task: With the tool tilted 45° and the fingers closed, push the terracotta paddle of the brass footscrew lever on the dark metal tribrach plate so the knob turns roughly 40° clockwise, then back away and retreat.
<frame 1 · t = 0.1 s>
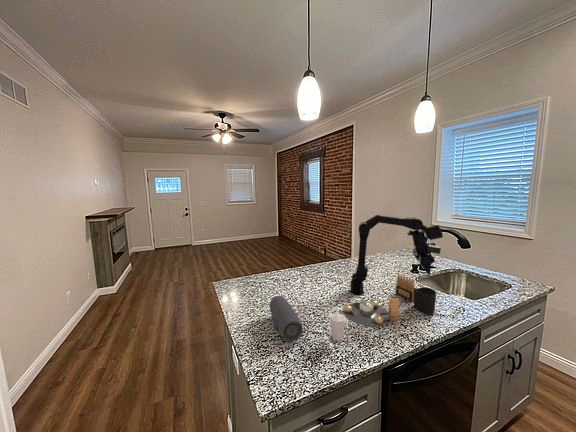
hand: (426, 270, 127), 15 cm above the worktop, tool pointing down, fingers open, 9 cm apart
pen holder: (423, 310, 118), on the worktop
footscrew lever: (386, 310, 106), point 6 cm above the worktop, hinge at 0.0°
ammunition clip: (404, 297, 132), on the worktop
bluetooth speaker: (284, 328, 105), on the worktop
tribrach plate: (366, 315, 114), on the worktop
smoothie: (337, 340, 96), on the worktop
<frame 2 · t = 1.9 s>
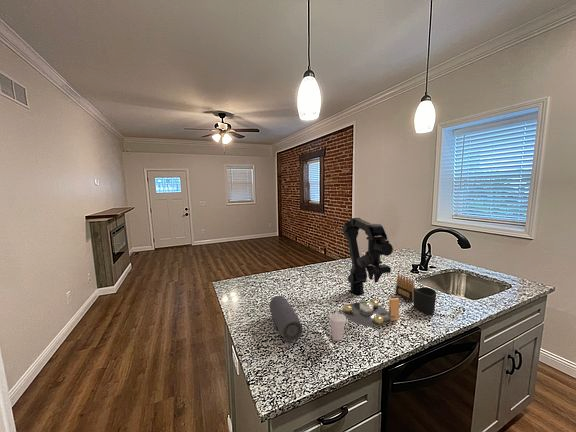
hand: (373, 281, 121), 13 cm above the worktop, tool pointing down, fingers open, 4 cm apart
nothing on the worktop moved.
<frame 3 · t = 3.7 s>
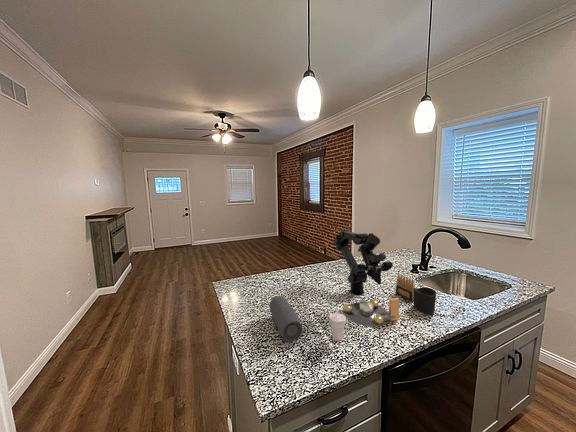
hand: (380, 284, 116), 13 cm above the worktop, tool tilted 45°, fingers closed
nothing on the worktop moved.
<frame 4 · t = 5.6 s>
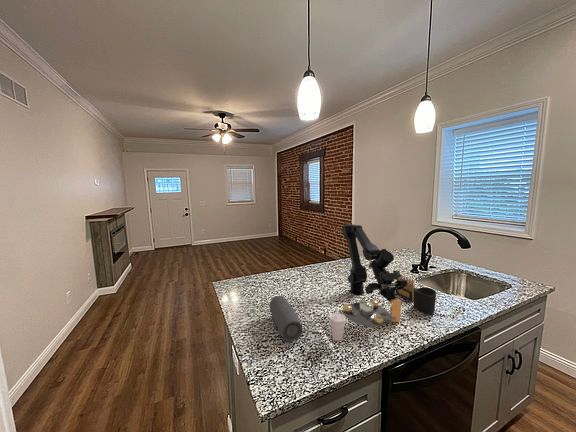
hand: (394, 305, 106), 8 cm above the worktop, tool tilted 45°, fingers closed, pressing on footscrew lever
footscrew lever: (387, 311, 105), point 6 cm above the worktop, hinge at -8.8°, touching gripper
everything else where it was.
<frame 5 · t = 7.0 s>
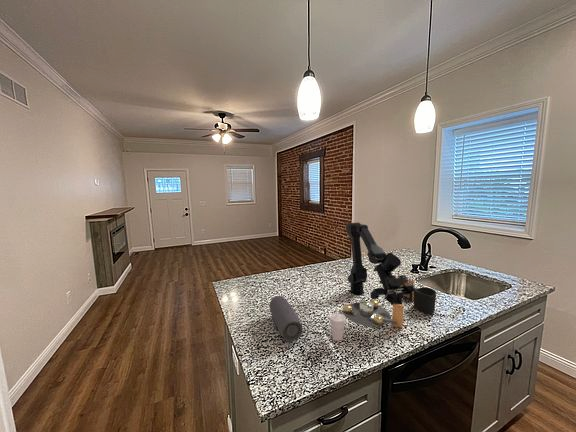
hand: (401, 311, 102), 8 cm above the worktop, tool tilted 45°, fingers closed
footscrew lever: (388, 313, 103), point 6 cm above the worktop, hinge at -38.7°, touching gripper
everything else where it was.
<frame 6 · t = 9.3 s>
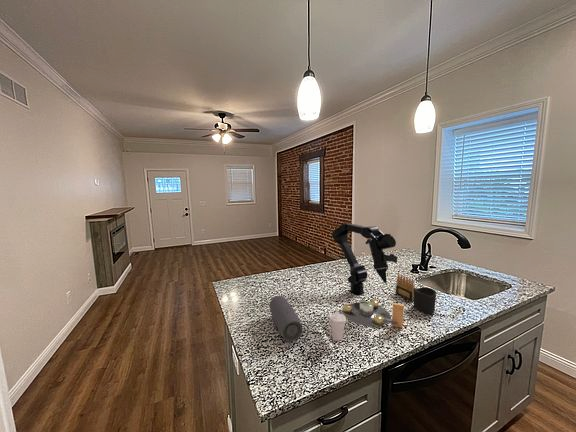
hand: (385, 282, 119), 13 cm above the worktop, tool tilted 25°, fingers closed
footscrew lever: (388, 313, 103), point 6 cm above the worktop, hinge at -38.7°
everything else where it was.
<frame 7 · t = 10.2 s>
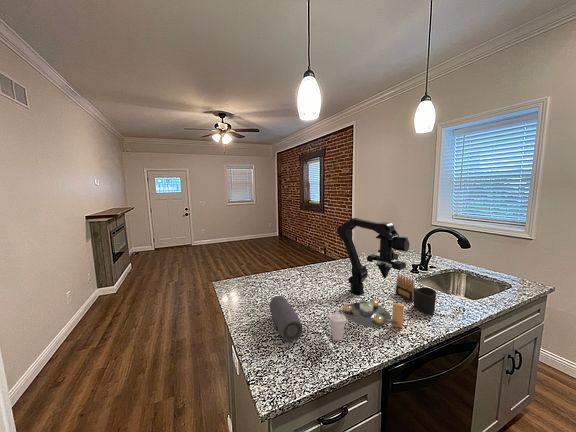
hand: (384, 278, 125), 13 cm above the worktop, tool pointing down, fingers closed
nothing on the worktop moved.
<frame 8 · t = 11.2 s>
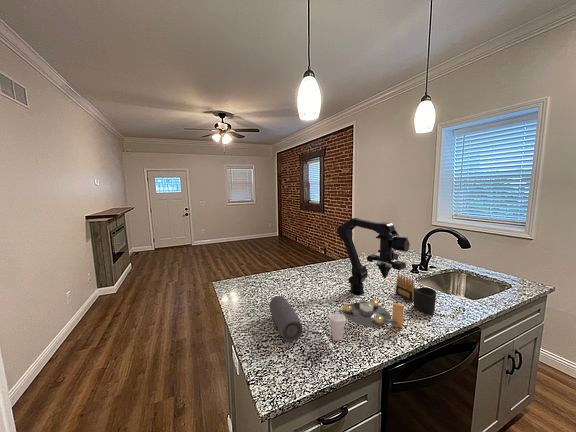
hand: (384, 278, 125), 13 cm above the worktop, tool pointing down, fingers closed
nothing on the worktop moved.
at the end: footscrew lever at -39° (first picture: +0°) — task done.
